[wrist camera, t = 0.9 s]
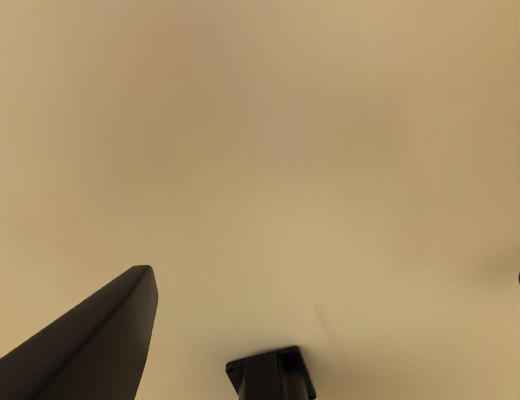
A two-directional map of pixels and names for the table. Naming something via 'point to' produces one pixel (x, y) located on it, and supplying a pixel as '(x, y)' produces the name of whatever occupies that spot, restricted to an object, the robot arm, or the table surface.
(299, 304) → the table surface
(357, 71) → the table surface
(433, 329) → the table surface
